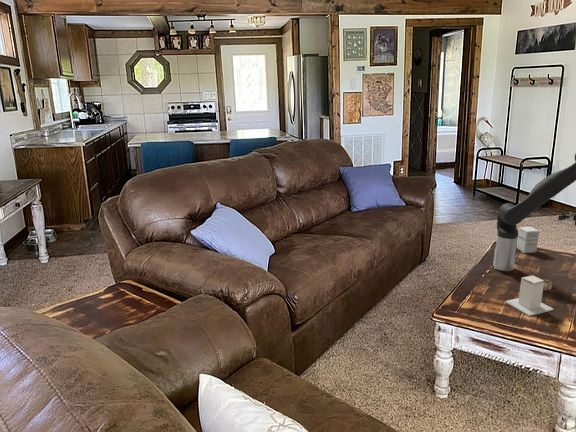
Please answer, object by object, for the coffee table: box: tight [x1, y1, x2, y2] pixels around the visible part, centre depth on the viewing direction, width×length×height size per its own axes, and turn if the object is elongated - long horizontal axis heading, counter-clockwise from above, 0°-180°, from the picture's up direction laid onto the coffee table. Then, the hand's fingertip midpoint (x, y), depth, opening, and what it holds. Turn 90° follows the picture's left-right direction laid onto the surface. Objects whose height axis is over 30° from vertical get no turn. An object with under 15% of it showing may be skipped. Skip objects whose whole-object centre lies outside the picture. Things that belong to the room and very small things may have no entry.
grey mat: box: [504, 297, 554, 317], centre depth 198 cm, size 13×13×1 cm
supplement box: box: [516, 226, 540, 254], centre depth 255 cm, size 7×7×13 cm
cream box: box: [518, 274, 544, 309], centre depth 196 cm, size 6×6×12 cm
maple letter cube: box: [543, 278, 553, 291], centre depth 213 cm, size 4×4×4 cm
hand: (567, 220), depth 212 cm, fingers open, 8 cm apart
